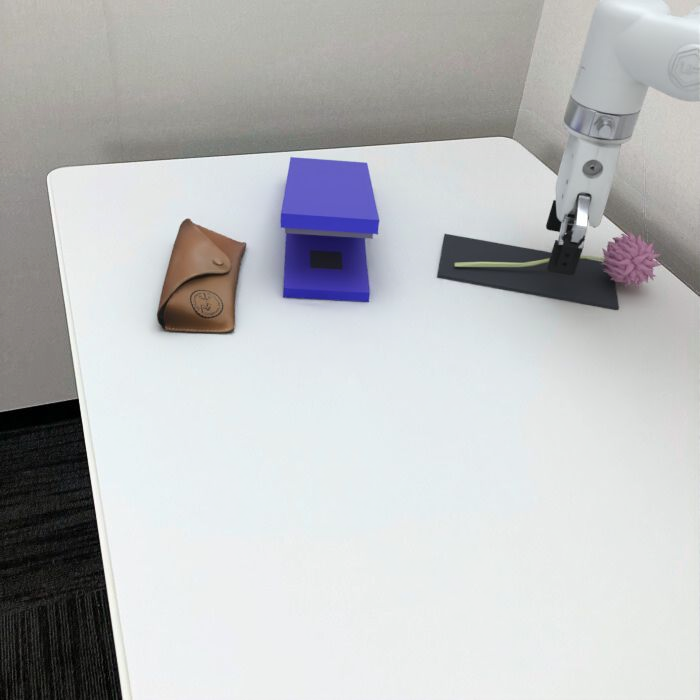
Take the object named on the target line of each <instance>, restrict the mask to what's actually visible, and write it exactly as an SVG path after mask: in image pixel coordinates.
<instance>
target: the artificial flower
mask: <svg viewBox="0 0 700 700" xmlns="http://www.w3.org/2000/svg"><path fill="white" fill-rule="evenodd" d="M625 232H626V234H625V233H620V235H621V236H620V237H617V236H616V237H612V239H613V241H614V242H613V241H607V246H605V247H606V249H605V248H602V253H603V257H599V256H589V255H581V256H580V258H585V259H591V260H597V261H603V263H602V264H605V265H606V266H607V267H608V268H609V269H607V268H606V269H603V270H606V271H603V272H606V273H608V275H610V276H611V277H612V278H611V279H610V280H614V282H615V283H623V284H624V289H626V288H627V286H630V285H632V284H634V285H637V289H639V288H640V286H641V285H642V284H643V282H646V283H647V284H649V280H652V281H655V280H654V277H655V278H656V277H657V275H656V274H654V270H655V269H654V268H656V267H659V266H661V265H662V263H660V262H659V259H657V258H658V257H660V256H661V253H655V247H654V244H655V241H652V242H651V243H649V244H647V243H646V242H645V238H643V239H642V235H641V233H639V234H638V236H637V238H636V237H635V235H634V233H632V232H631V231H629V230H626V231H625ZM549 259H550V258H548V259H543V260H538V261H532V262H526V263H508V262H462V263H455V267H527V266H535V265H539V264H543V263H547V262H549ZM602 264H601V265H602ZM649 278H650V279H649Z"/></svg>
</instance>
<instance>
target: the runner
mask: <svg viewBox="0 0 700 700" xmlns="http://www.w3.org/2000/svg"><path fill="white" fill-rule="evenodd" d="M551 252H552V251H551ZM551 252H550V251H546V250H540V249H535V248H528V247H523V246H517V245H511V244H506V243H500V242H494V241H489V240H485V239H478V238H472V237H466V236H460V235H455V234H449V233H444V235H443V241H442V247H441V252H440V257H439V263H438V270H437V276H436V277H437V278H439V279H445V280H450V281H456V282H460V283H461V282H462V283H467V284H472V285H478V286H483V287H490V288H493V289H494V288H495V289H499V290H505V291H511V292H515V293H516V292H517V293H521V294H528V295H532V296H539V297H545V298H550V299H554V300H559V301H560V300H561V301H566V302H572V303H576V304H582V305H589V306H593V307H598V308H599V307H600V308H605V309H611V310H616V311H619V309H620V306H619V305H620V304H619V299H618V292H617V285H616V282H614V280H610V279H611V278H612V277H611V276H610V275H608V273H606V272H603V271H606V270H603V269H606V268H607V269H609V268H608V267H607V266H606V265H605V264H602V263H603V262H604V261H602V260H594V259H585V258H580V259H579V262H578V265H577V268H576V271H575V274H574V275H566V274H560V273H555V272H549V271H548V270H547V266H548V262H547V263H543V264H539V265H535V266H527V267H455V263H462V262H508V263H526V262H532V261H538V260H543V259H548V258H550V256H551ZM601 264H602V265H601Z"/></svg>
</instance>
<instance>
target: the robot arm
mask: <svg viewBox="0 0 700 700" xmlns="http://www.w3.org/2000/svg"><path fill="white" fill-rule="evenodd" d="M649 87H651V88H652V89H654V90H656V91H659V92H660V93H662V94H665V95H667V96H669V97H671V98H674V99H677V100H680V101H684V102H691V103H692V102H694V103H696V102H700V4H699V5H697V6H695V7H694V8H693V9H691V11H689V12H688V13H687V14H686V15H683V16H675V15H672V11H671V8H670V6H669V5H668V4H667V2H665V1H663V0H598V1H597V3H596V5H595V7H594V10H593V13H592V15H591V19H590V23H589V27H588V31H587V34H586V38H585V42H584V45H583V48H582V52H581V55H580V59H579V63H578V67H577V71H576V73H575V77H574V81H573V85H572V88H571V91H570V95H569V98H568V102H567V106H566V109H565V113H564V116H563V120H562V127H563V128H564V130H565V131H566V132H567V133H569V134H568V137H567V141H566V144H565V146H564V151H563V155H562V157H561V161H560V165H559V169H558V172H557V177H556V182H555V199H553V200H552V204H551V208H550V211H549V214H548V218H547V222H546V224H545V228H546V230H547V231H552V232H556V233H558V238H557V239H555V240H554V243H553V246H552V249H551V256H550V259H549V262H548V266H547V270H548V271H549V272H555V273H560V274H566V275H574V274H575V271H576V268H577V265H578V262H579V259H580V256H582V252H583V250H584V247H585V240H586V236H587V230H588V224H589V227H592V228H593V229H596V228H599V226H600V225H601V223H602V220H603V216H604V212H605V209H606V207H607V202H608V199H609V196H610V192H611V189H612V185H613V182H614V179H615V175H616V171H617V167H618V163H619V159H620V154H621V148H622V144H626V143H628V142H629V141H630V140H632V136H633V133H634V131H635V128H636V126H637V123H638V120H639V117H640V113H641V110H642V107H643V105H644V102H645V98H646V96H647V94H648V89H649Z"/></svg>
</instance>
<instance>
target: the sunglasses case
mask: <svg viewBox="0 0 700 700" xmlns="http://www.w3.org/2000/svg"><path fill="white" fill-rule="evenodd" d="M178 227H179V228H178V231H177V234H176V237H175V240H174V243H173V247H172V250H171V254H170V258H169V262H168V265H167V269H166V272H165V276H164V279H163V284H162V288H161V292H160V297H159V301H158V302H159V303H158V307H157V313H156V319H157V323H158V324H159V325H160V326H161V327H162V329H164V330H165V331H167V332H177V333H186V334H226V333H231V332H233V331H234V330H235V326H236V315H235V314H236V313H235V312H236V295H237V287H238V280H239V274H240V269H241V264H242V260H243V257H244V254H245V251H246V249H247V243H246V242H241V241H237V240H235V239H232V238H231V237H228V236H227V235H223V234H221V233H218V232H216V231H214V230H212V229H209V228H207V227H204V226H202V225H200V224H196V223H194V222H193V221H192V220H191V218H185V219H184V220H182V221H181V223H180V225H179V226H178Z"/></svg>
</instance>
